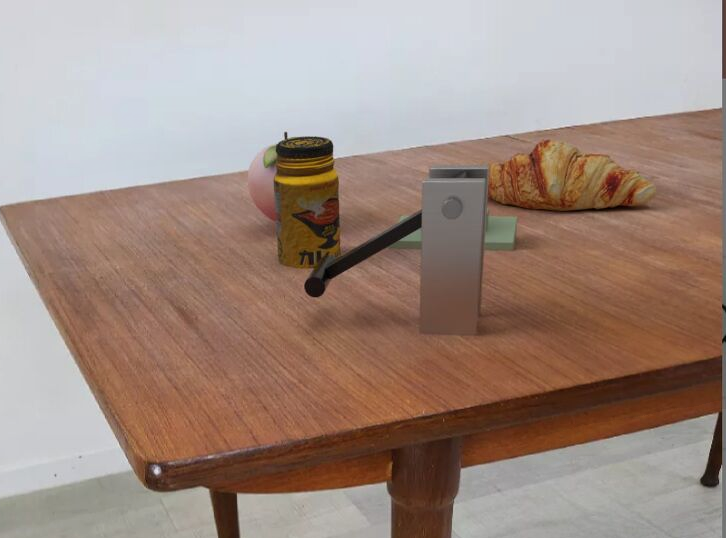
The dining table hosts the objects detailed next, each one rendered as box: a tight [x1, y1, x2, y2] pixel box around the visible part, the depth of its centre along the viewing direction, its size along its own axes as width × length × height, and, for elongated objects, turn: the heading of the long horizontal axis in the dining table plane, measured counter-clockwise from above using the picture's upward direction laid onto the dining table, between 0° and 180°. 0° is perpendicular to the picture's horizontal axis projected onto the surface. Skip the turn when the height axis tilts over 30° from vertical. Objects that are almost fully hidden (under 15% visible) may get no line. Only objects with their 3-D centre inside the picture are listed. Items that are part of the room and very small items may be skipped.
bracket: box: [418, 164, 489, 337], centre depth 72 cm, size 10×8×13 cm
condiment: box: [274, 135, 342, 270], centre depth 89 cm, size 7×8×12 cm
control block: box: [387, 206, 518, 251], centre depth 94 cm, size 12×9×4 cm
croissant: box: [488, 139, 658, 212], centre depth 106 cm, size 21×10×8 cm, turn 66°
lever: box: [303, 171, 470, 299], centre depth 73 cm, size 14×6×2 cm, turn 77°
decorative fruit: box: [247, 131, 296, 223], centre depth 102 cm, size 9×8×10 cm
